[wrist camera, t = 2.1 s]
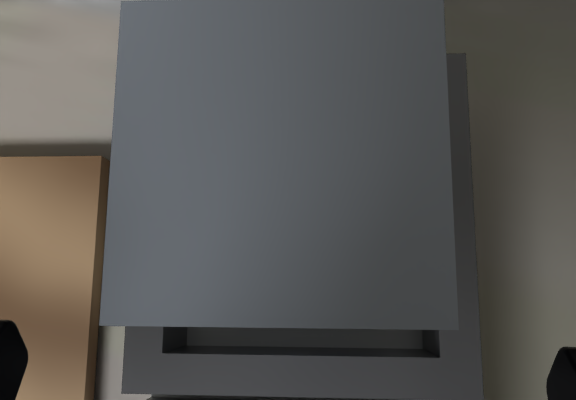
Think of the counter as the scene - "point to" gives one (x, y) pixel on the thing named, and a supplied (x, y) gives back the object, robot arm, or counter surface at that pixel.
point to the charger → (281, 167)
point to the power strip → (330, 333)
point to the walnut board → (54, 268)
